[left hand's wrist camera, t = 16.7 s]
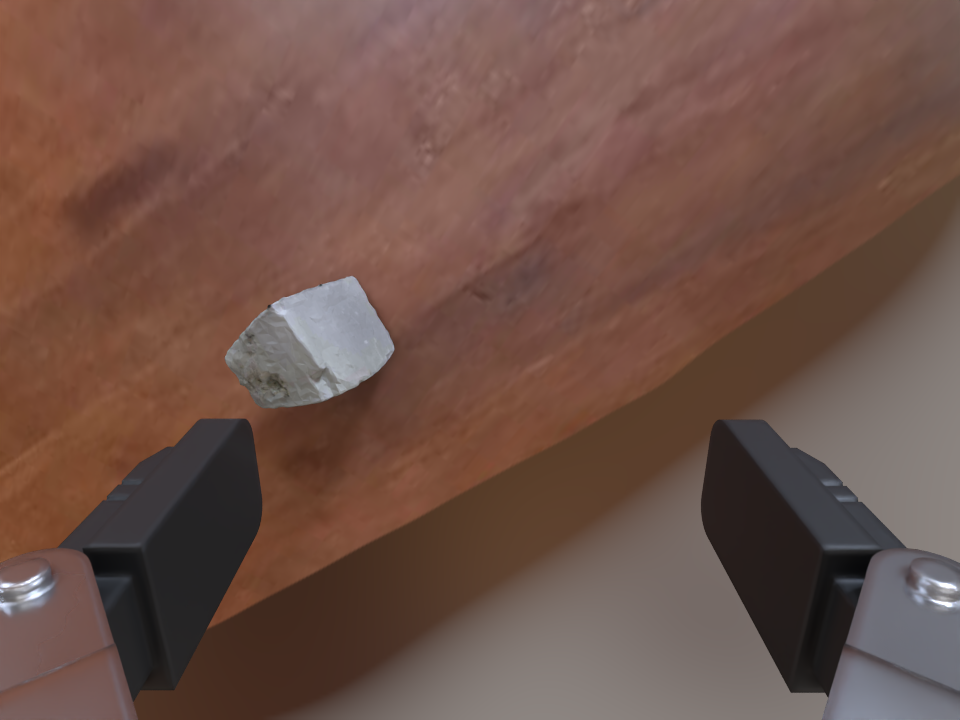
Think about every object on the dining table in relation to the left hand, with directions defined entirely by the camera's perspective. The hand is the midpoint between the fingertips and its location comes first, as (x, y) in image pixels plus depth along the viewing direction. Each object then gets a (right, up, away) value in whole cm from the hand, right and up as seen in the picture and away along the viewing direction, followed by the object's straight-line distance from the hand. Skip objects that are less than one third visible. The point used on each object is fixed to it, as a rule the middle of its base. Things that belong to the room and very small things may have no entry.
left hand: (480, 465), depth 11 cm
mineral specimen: (-10, +4, +30) cm, 32 cm away
